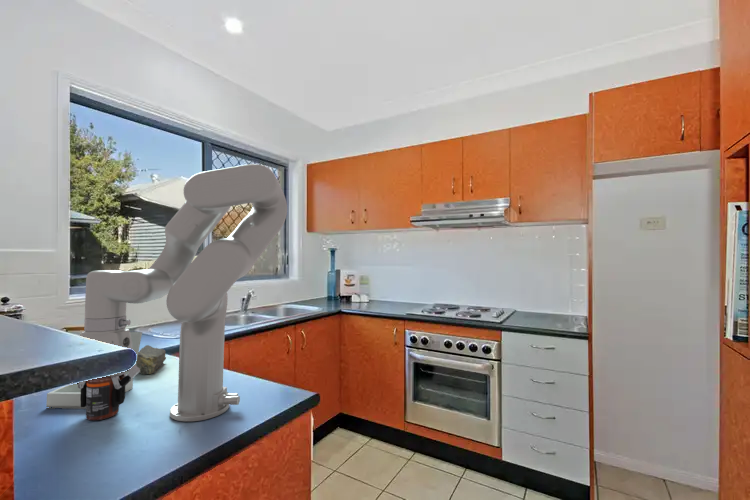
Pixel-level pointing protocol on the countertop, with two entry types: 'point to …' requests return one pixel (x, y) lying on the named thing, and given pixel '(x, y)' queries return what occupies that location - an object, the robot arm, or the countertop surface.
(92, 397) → the supplement bottle
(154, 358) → the rock
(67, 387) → the white open box
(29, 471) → the countertop surface
